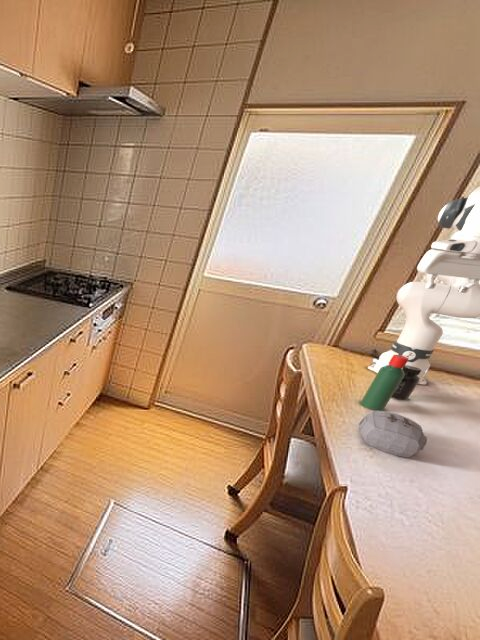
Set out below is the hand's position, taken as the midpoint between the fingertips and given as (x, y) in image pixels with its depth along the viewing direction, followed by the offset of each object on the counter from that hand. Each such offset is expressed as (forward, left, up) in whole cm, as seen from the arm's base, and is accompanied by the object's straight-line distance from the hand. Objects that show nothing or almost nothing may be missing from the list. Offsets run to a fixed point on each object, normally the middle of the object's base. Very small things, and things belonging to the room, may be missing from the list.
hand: (445, 290), depth 137 cm
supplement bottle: (-10, +4, -42) cm, 43 cm away
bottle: (+10, -1, -41) cm, 43 cm away
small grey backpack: (+37, +5, -42) cm, 56 cm away
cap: (+10, -1, -25) cm, 27 cm away
